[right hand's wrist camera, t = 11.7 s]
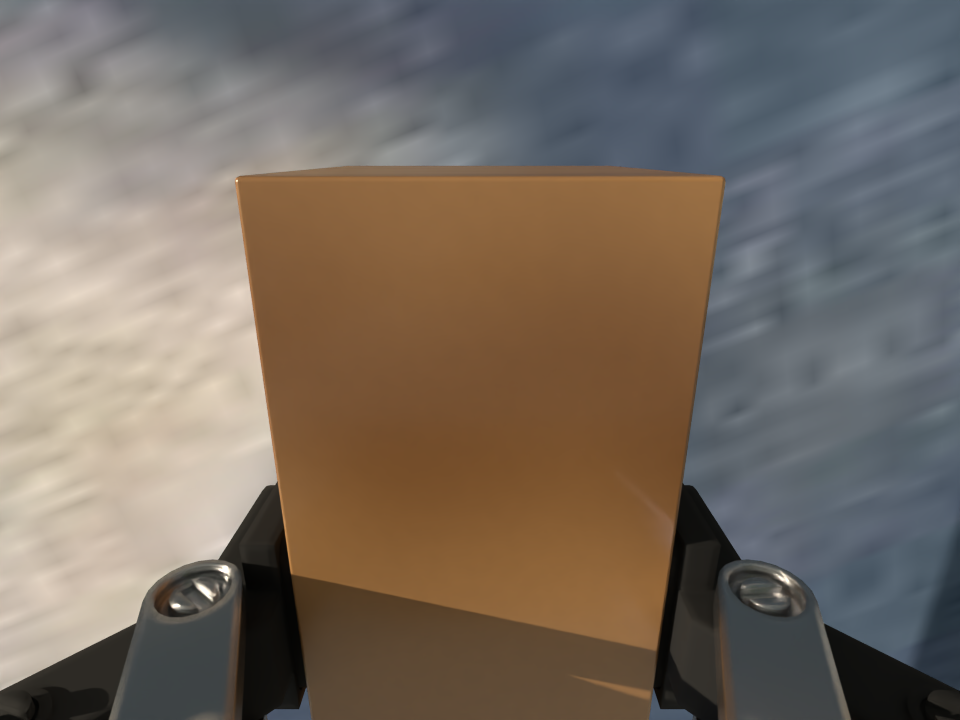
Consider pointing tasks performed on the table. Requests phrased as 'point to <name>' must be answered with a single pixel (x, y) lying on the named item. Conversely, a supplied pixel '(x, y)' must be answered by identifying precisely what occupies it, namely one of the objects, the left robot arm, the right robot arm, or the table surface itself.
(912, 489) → the table surface
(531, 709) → the beam
